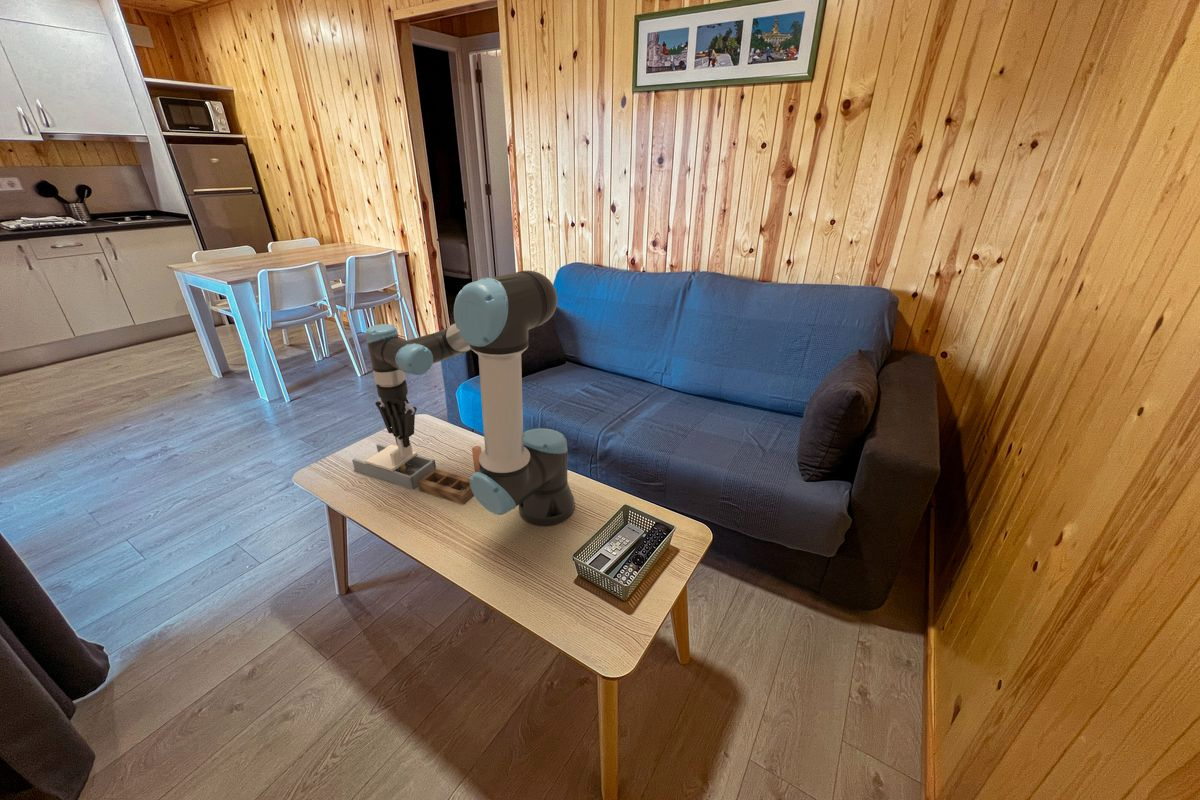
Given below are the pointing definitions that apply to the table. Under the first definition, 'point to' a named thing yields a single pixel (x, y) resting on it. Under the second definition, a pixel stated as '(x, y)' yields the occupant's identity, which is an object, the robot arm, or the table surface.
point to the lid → (390, 458)
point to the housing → (401, 476)
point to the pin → (476, 457)
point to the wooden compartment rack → (443, 480)
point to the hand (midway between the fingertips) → (405, 454)
